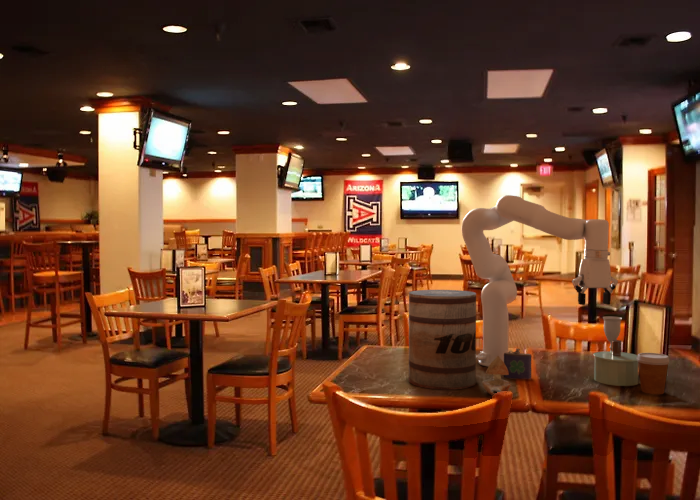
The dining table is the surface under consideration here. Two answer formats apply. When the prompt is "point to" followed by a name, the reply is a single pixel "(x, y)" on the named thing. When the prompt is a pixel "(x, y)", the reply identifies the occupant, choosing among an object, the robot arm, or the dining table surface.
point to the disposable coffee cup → (652, 372)
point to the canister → (616, 372)
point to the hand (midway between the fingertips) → (594, 304)
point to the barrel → (442, 339)
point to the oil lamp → (496, 377)
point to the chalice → (612, 328)
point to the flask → (518, 365)
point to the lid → (616, 354)
